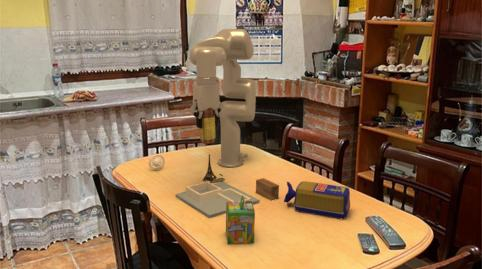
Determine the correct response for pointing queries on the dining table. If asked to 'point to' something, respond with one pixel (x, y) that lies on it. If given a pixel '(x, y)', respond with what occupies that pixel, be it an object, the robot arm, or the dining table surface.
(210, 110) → the sauce bottle
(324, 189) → the bread
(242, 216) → the chalk box
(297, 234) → the dining table surface
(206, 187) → the jig board
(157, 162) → the ring around a ball
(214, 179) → the eiffel tower figurine
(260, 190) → the brown wooden block
